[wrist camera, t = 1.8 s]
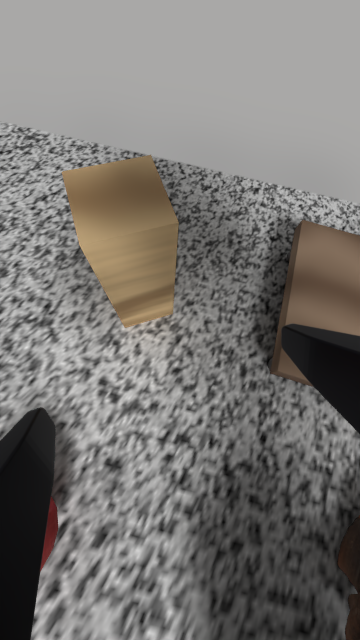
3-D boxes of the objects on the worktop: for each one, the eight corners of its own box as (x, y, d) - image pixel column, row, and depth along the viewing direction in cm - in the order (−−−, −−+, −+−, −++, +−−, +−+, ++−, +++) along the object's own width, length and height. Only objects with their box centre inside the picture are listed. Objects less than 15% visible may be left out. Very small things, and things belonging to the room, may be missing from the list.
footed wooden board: (384, 415, 22) (429, 418, 18) (259, 376, 23) (277, 370, 19) (385, 273, 27) (420, 252, 24) (284, 244, 28) (302, 219, 24)
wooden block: (172, 313, 24) (178, 222, 12) (125, 327, 24) (79, 245, 11) (158, 272, 26) (150, 155, 14) (113, 285, 25) (61, 171, 13)
